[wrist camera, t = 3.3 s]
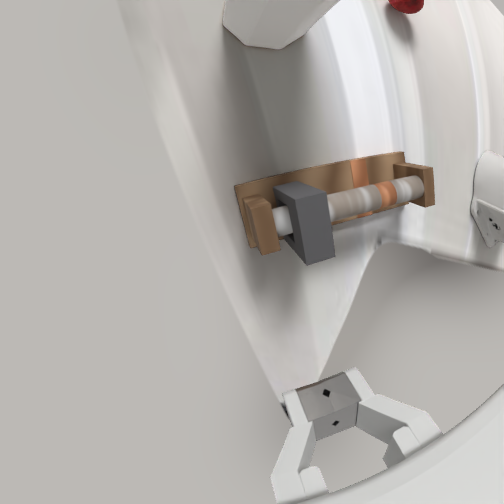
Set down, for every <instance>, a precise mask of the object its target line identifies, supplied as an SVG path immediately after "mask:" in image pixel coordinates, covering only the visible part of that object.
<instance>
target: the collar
mask: <svg viewBox="0 0 504 504" xmlns="http://www.w3.org/2000/svg"><path fill="white" fill-rule="evenodd" d="M273 191H274V196H275V200H276V205H277V208H278V207H282V206H286V205H287V206H288V210H289V215H290V220H291V225H292V230H293V233H291V234H287V235H284V236H283V238H284V239H285V241H286V242H287V243H288V244H289V245H290V246H291V248H292V249H293V250H294V251H295V252H296V253H297V255H298V256H299V257H300V258H301V259H302V260H303V262H304V263H305V264H306V265H310V264H313V263H317V262H320V261H323V260H326V259H329V258H332V257H335V250H334V241H333V234H332V226H331V219H330V212H329V206H328V199H327V193H326V192H325V191H323V190H320V189H317V188H315V187H312V186H310V185H307V184H304V183H301V182H299V181H295V182H291V183H286V184H282V185H278V186H274V187H273Z"/></svg>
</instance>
